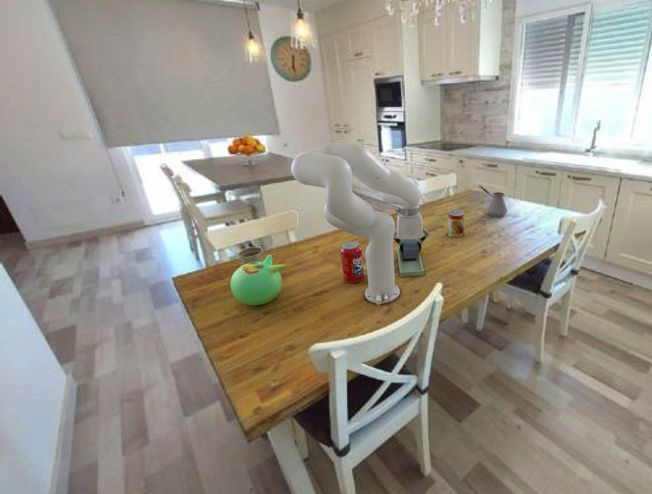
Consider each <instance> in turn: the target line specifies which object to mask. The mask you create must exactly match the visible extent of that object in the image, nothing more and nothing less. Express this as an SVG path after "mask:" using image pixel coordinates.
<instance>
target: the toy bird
mask: <svg viewBox="0 0 652 494" xmlns="http://www.w3.org/2000/svg"><path fill="white" fill-rule="evenodd" d="M284 268H286V265H285V264H282V263H281V264H273V255H271V254H268V255H267V256H266V257H265V259H264V260H262V262H252V263H248V264H245V265H243V264H242V265H240V267H239V268H237V269H236V270H235V271H234V272H233V274H232V276H231V278H230V283H229V285H230V290H231V294H232V295H233V297H234V298H235V299H236V300H237V301H238V302H240V303H242V304H244V305H248V306H262V305H265V304H268V303H270V302H271V301H273V300H275V299H276V297H277V296H278V295H279V294H280V292H281V290H282V287H283V279H282V275H281V273H280V271H281V270H283V269H284Z"/></svg>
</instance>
